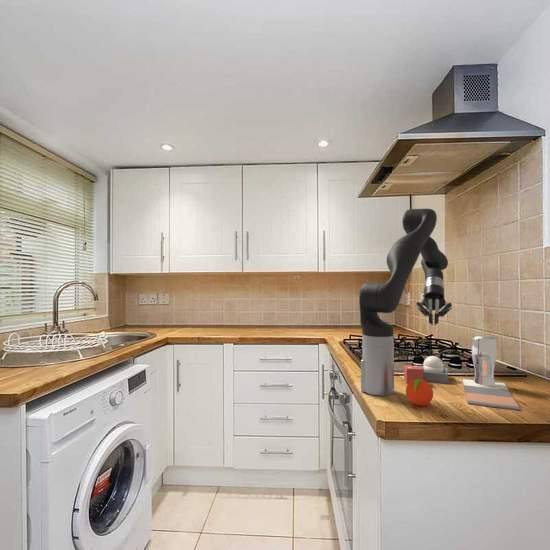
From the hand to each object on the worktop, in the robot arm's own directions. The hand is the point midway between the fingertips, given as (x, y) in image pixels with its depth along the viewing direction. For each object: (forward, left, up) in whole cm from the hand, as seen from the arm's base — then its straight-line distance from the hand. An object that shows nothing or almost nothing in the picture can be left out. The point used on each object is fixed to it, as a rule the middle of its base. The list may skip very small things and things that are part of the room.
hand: (433, 323), depth 132 cm
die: (-6, -19, -18) cm, 27 cm away
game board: (+15, -21, -18) cm, 31 cm away
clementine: (-3, -42, -18) cm, 46 cm away
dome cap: (0, -11, -17) cm, 20 cm away
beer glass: (+15, -13, -18) cm, 27 cm away
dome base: (0, -11, -18) cm, 21 cm away
